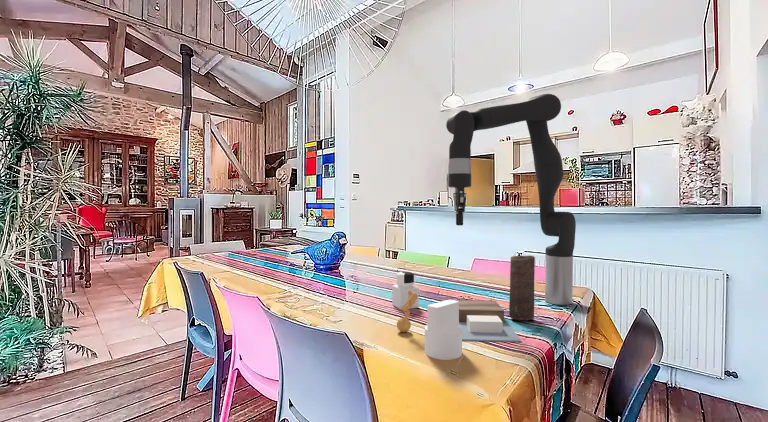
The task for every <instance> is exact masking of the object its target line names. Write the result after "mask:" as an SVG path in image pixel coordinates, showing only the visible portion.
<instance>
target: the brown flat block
mask: <svg viewBox="0 0 768 422" xmlns="http://www.w3.org/2000/svg"><path fill="white" fill-rule="evenodd" d="M454 300H455V301H459V322H467V315H479V316H498V317H499V318H500V319H501V321H502V322H503V323H505V310H504V309H503V307H501V305H500V304H499V303H498V302H497V301H496V300H477V299H476V300H474V299H473V300H472V299H471V300H469V299H467V300H465V299H454Z"/></svg>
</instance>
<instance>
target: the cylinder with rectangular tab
mask: <svg viewBox="0 0 768 422" xmlns="http://www.w3.org/2000/svg"><path fill="white" fill-rule="evenodd" d="M455 300H456V299H446V300H441V301H438V302H435V303H431V304H427V309H426V312H427V317H426V318H427V321H426V325H425V326H424V353H425V355H427V356H428V357H430V358H432V359H435V360H441V361H442V360H444V361H445V360H447V361H448V360H449V361H450V360H455V359H458V358H461V357H462V355H463V341H462V328H461V327H460V326H459V301H455Z"/></svg>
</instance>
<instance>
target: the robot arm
mask: <svg viewBox="0 0 768 422" xmlns="http://www.w3.org/2000/svg"><path fill="white" fill-rule="evenodd" d="M561 110H562V103H561V100H560V98H559V97H558V96H557V95H555V94H552V93H543V94H539V95H536V96H535V95H534V96H532V97H530V98H528V99H527V101H522V102H518V103H517V102H516V103H509V104H503V105H502V104H500V105H493V106H488V107H483V108H479V109H476V110H473V111H468V110H459V111H458V112H456V113H454V114H452V115H450V116H449V117H448V119H446V120H447V121H446V123H445V124H446V125H445V126H446V129H447V132H449V134H451V135H453V139H452V141H451V142H450V143H449V147H448V148H449V149H448V154H449V155H448V164H447V165H448V168H447V169H448V171H447V172H448V175H447V176H448V177H447V182H448V183H447V184H448V185H447V187H449V188H454V189H455V190H454V193H452V198H453V208H454V213H455V224H456V226H463V225H464V214H465V211H466V200H467V192H465V188H471V187H472V161H471V160H472V159H471V157H472V153H471V152H472V151H471V150H472V149H471V146H472V142H473V137H474V132H476V131H485V130H489V129H493V128H499V127H503V126H508V125H512V124H515V123H520V122H525V123H526V126H527V129H528V133H529V139H530V144H531V145H530V146H531V151H532V155H533V165H534V173H535V177H536V183H537V191H538V201H539V203H538V205H539V221H540V229H541V231H542V233H543V235H545V236H547V237H555V238H556V237H558V240H557V243H555V244H552V245H549V246H547V247H545V253H544V254H545V259H544V260H545V262H544V263H545V266H544V267H545V270H544V272H545V273H544V274H545V277H544V280H545V281H544V283H545V284H544V301H545V302H546V303H549V304H551V305H558V306H559V305H560V306H567V305H568V306H569V305H572V304H573V284H574V282H573V281H574V278H573V276H574V275H573V274H574V271H573V270H574V256H573V255H574V249H575V246H576V245H575V242H576V228H577V224H576V221H577V220H576V218H575V215H574V214H573V213H572V212H571V211H555V204H554V203H555V196H556V193H557V191H558V189H559V187H560V185H561V184H562V181H563V178H564V168H563V160H562V159H563V158H562V156H561V153H560V151H559V149H558V148H557V147H556V145H555V143H554V141H553V140H552V138H551V135H550V132H549V126H548V122H549V121H550V122H551V121H552V120H554V119H555V118H557V117H558V116H559V114H560V113H561Z"/></svg>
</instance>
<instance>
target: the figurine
mask: <svg viewBox="0 0 768 422" xmlns="http://www.w3.org/2000/svg"><path fill="white" fill-rule="evenodd" d="M408 294H409V297H408V301H407V302H406V304H405V305H404V306H403V308H402V309H401V310H400V311H401V312H403V313H404V314H405V316H404V317H400V318H399V319H398V320H397V322H396V328H397V330H398V331H399V332H401V333H407V332H409V331H410V330H411V326H412V323H411V321H410V320H409V317H410V313H411V311H410V310H411V309H412V308H411V307H412V306H413V304H415V301H416V299H417V294H416V293H413V292H412V291H410V290H409V291H408ZM408 302H409V304H408ZM407 304H408V305H407ZM406 305H407V306H406ZM405 306H406V307H405ZM404 307H405V308H404ZM410 308H411V309H410Z"/></svg>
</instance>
